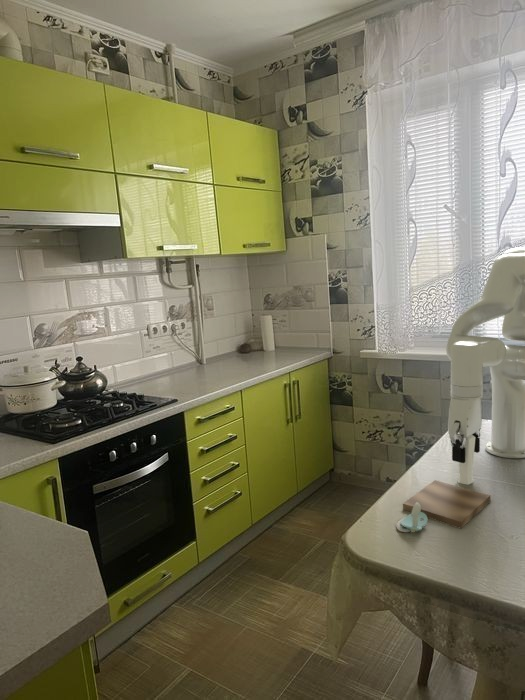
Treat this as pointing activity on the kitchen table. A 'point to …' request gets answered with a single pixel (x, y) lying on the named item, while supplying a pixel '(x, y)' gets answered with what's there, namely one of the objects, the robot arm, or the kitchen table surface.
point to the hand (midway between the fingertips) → (466, 456)
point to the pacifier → (413, 520)
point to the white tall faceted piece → (467, 461)
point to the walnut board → (448, 503)
